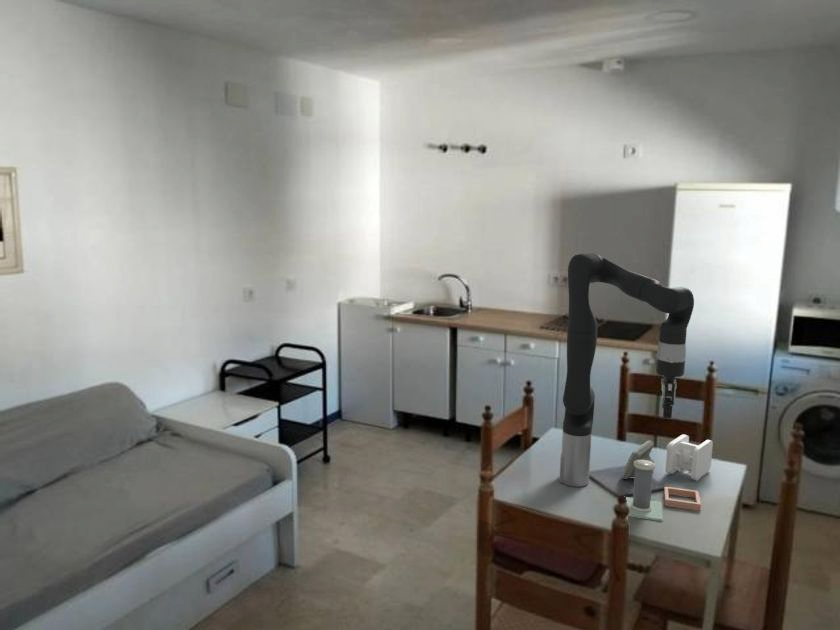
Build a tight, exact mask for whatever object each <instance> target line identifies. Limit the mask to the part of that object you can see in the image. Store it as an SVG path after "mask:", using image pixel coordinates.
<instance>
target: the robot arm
mask: <svg viewBox="0 0 840 630" xmlns="http://www.w3.org/2000/svg"><path fill="white" fill-rule="evenodd" d="M593 283H603V284H608V285H612V286H613V287H616V288H618V290H620V291H621V292H622V293H624V294H625V295H627V296H628V297H631V298H633V299H636V300H638V301H641V302H644V303H647V304H648V305H649V306H651V307H652V308H654V309H656V310H657V311H659V312H662V313H665V314H668V315H667V318H666V319H665V320H664V321H662V322H661V323H660V326H659V334H658V335H659V338H658V346H657V349H656V350H657V351H656V364H655V365H656V366H655V373H656V374H657V375H659V376H662V377H663V378H661V382H660V383H661V393H662V395H661V396H662V404H661V406H662V409H663V410H662V411H663V412H662V417H663V418H665V419H671V418H672V413H673V407H674V405H675V398H676V389H677V385H678V382H677V379H675V378H680V377H683V376H684V375H685V367H686V358H687V357H686V353H687V347H686V345H687V344H686V342H687V328H688V326H689V323H690V320H691V317H692V314H693V311H694V306H695V298H694V294H693V292H692V291H691V289H690V288H688V287H685V286H678V287H667V286H663V284H662V283H661V282H660V281H658V280H656V278H655V279H654V278H651V277H649V276H645V275H643V274H639V273H637V272H634V271H631V270H628V269H626V268H624V267H623V266H621V265H618V264H616V263H614V262H613V261H610V260H609V259H607V258H606V257H603V256H602V255H600V254H598V253H579V254H575V255H574V256H572V257H571V258H570V261H569V263H568V266H567V285H568V318H567V319H568V321H567V330H566V331H567V332H566V367H567V368H566V378H565V383H564V384H565V385H564V391H563V395H562V403H563V405H564V408H565V410H564V417H563V421H562V434H561V435H562V437H561V439H562V440H561V453H560V461H559V463H560V464H559V466H560V467H559V479H558V480H559V481H558V483H561V484H564V485H567V486H570V487H577V488H579V487H580V488H581V487H585V486H587V485H589V482H590V469H591V468H590V466H591V452H592V451H591V450H592V436H593V435H592V432H593V424H594V416H595V414H594V413H595V403H596V402H595V399H596V397H595V396H596V395H595V391H594V390H593V388H592V386H591V374H592V367H593V364H594V359H595V355H596V348H597V342H598V341H597V340H598V323H597V319H596V316H595V314H594V311H593V309H592V306H591V304H590V297H589V295H590V292H589V291H590V284H593Z"/></svg>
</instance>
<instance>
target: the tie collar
mask: <svg viewBox="0 0 840 630" xmlns="http://www.w3.org/2000/svg"><path fill="white" fill-rule="evenodd" d="M663 493H664V494H663V495H664V496H663V497H664V506H665V507H670V508H678V509H686V510H693V511H699V512H700V511H701V509H702V508H701V507H702V504H701V498H700V493H699V490H694V489H693V490H692V489H687V488H678V487H673V486H672V487H671V486H664V489H663ZM670 495H673V496H679V497H685V498H686V497H687V498H693V499H694V501H695V502H694V501H687V500H683V499H682V500H681V499H674V498H670V497H669V496H670Z"/></svg>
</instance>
